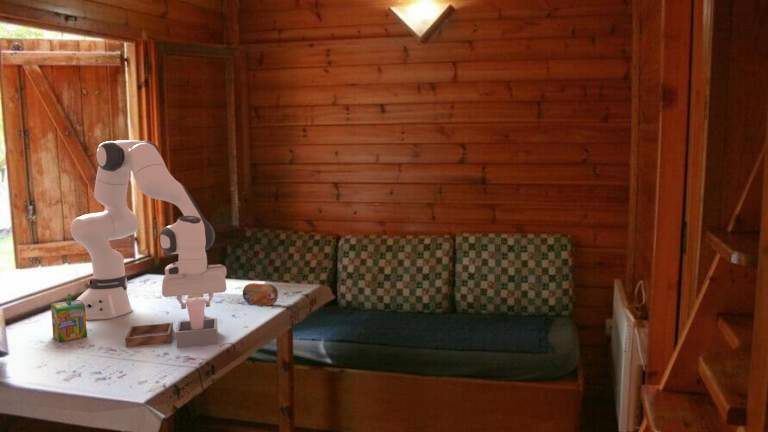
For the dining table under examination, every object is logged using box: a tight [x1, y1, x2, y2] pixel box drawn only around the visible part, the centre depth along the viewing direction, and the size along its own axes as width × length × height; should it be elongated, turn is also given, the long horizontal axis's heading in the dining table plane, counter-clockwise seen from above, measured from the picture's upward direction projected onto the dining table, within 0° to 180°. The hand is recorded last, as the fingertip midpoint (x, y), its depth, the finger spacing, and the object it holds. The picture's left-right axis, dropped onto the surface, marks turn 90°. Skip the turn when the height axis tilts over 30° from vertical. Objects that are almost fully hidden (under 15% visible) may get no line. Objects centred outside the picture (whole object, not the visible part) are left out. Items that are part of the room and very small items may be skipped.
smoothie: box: [185, 295, 207, 330], centre depth 215 cm, size 6×6×14 cm
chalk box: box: [50, 293, 88, 343], centre depth 222 cm, size 9×9×15 cm
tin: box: [242, 282, 279, 307], centre depth 259 cm, size 15×3×8 cm, turn 68°
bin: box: [175, 317, 219, 349], centre depth 216 cm, size 13×13×5 cm
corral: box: [124, 322, 174, 348], centre depth 219 cm, size 14×14×3 cm
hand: (195, 307), depth 215 cm, fingers closed on smoothie, 6 cm apart
